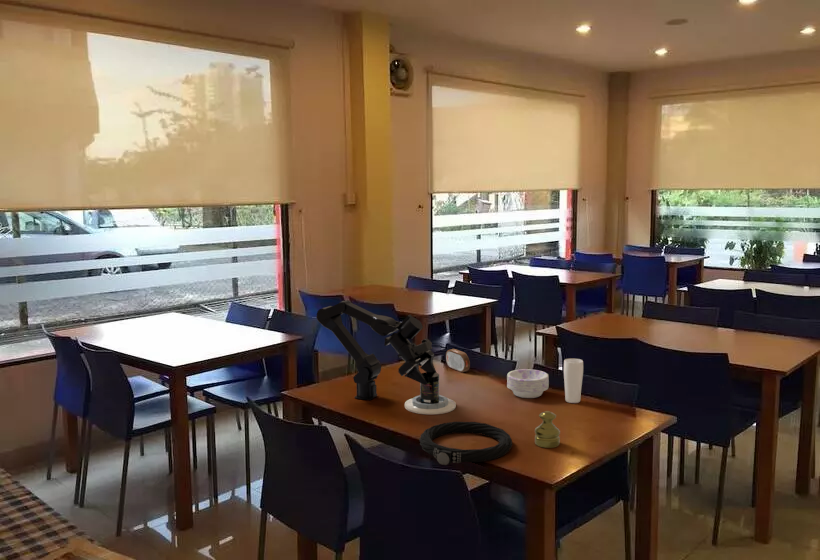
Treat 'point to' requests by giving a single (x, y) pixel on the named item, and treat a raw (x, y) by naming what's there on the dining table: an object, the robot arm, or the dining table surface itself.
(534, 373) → the paper bowls
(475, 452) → the cable lock
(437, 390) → the supplement container
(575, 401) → the drinking glass
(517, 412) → the dining table surface
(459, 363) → the tin
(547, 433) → the gold tapered knobbed piece
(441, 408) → the round tray
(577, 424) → the dining table surface
